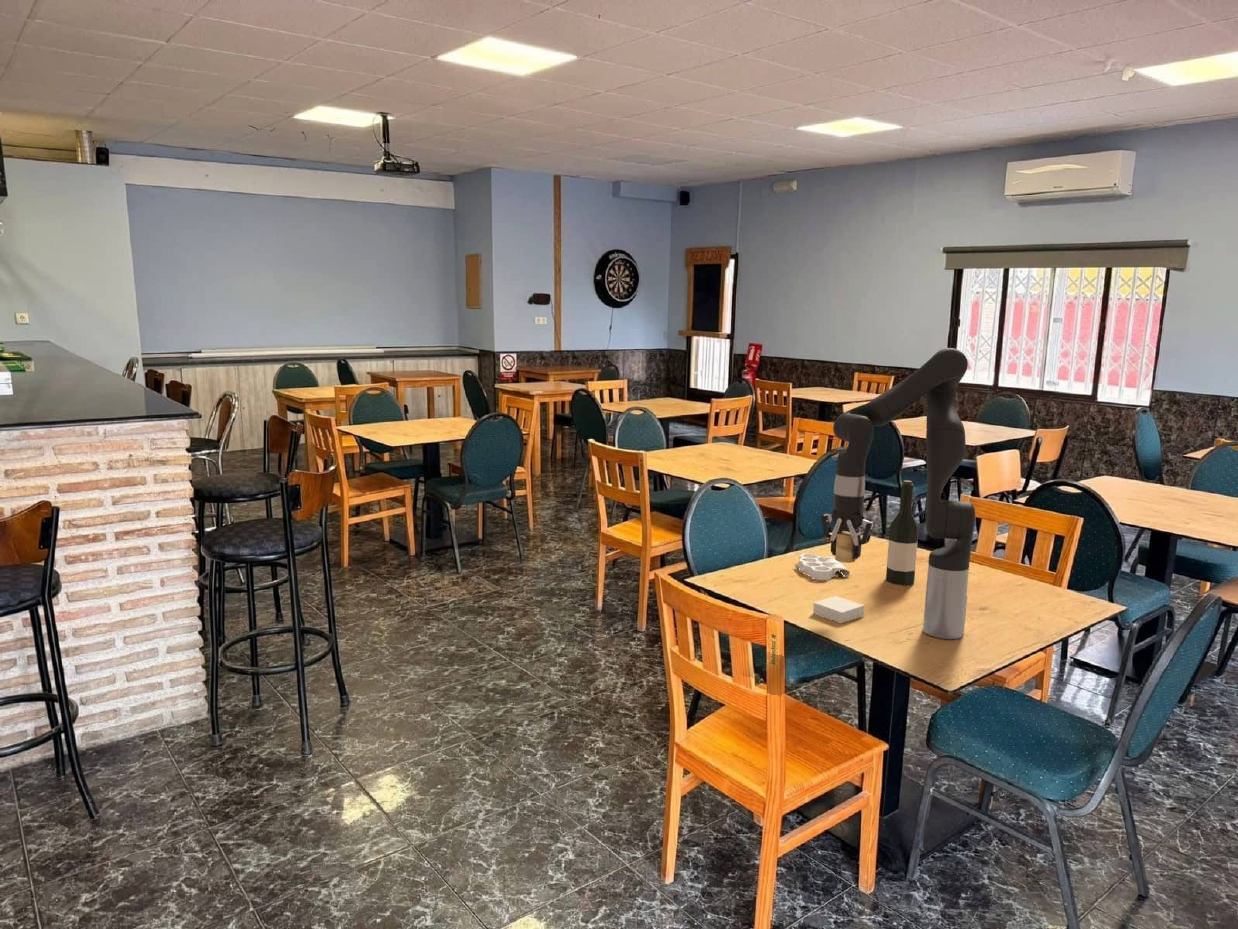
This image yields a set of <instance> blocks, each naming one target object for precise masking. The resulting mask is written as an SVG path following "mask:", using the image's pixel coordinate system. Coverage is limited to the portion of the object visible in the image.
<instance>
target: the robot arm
mask: <svg viewBox="0 0 1238 929" xmlns="http://www.w3.org/2000/svg"><path fill="white" fill-rule="evenodd" d="M968 366H969V364H968V359H967V356H966V355H965V353H964V352H962V351H961V350H959V349H957V348H952V347H946V348H942V349H940V350H938V351H937V352H935V354H933V355H932V356H931V357H930V358H929V360H927V361H926V362H925V363H924V364H923V365H921V366H920V367H919V368H918V369H917V370H915V371H914V372H913V373H911V374H910V375H908V377H905V378H904V379H903V380H901V381H900V382H899V383H897V384H896V385H894V386H892V387H891V388H889V389H888V390H886V391H885V392H883V393H881V394H880V395H878V396H876V397H874V398H873V399H872V400H870V401H869V402H867V403H865V404H862V405H858V406H857V407H854V408H851V409H848V410H847V411H845V412H843V413H841V414H840V415H839V416H838V417H837V418H836V419H835V421H834V423H833V427H832V430H833V433H834V435H835V437H836V438H837V439H839V440H841V441H844V442H848V443H847V447H846V450H844V451H841V452H839V454H837V459H836V470H835V471H836V473H835V475H836V476H835V479H834V486H833V502H832V503H833V504H832V505H833V506H832V509H833V510H832V513H831V514H830V513H824V514H823V515H820V518H821V519H820V520H821V525H822V531H823V536H824V538H827V539H829V540H830V552H831V555H832V556H834V557H835V554H836V538H837V533H839V532H842V531H847V532H850V534H851V537H852V538H853V542H854V545H853V559H855V561H857V560H858V559H859V558H860V557H861V555H862V545H865V544H868V543H870V540H871V537H872V534H873V531H874V527H875V526H876V524H875V521H873V520H872V521H869V520H867V519H866V518H865V517H864V507H865V493H866V492H865V490H866V479H865V475H866V462H867V461H866V460H867V457H868V454H869V452H870V448H871V445H872V442H873V439H874V432H875V431H874V427H882V426H885V425H887V424H888V423H891V421H893V420H895V419H896V418H898V417H899V416H900V415H902V414H904V413H905V412H906V411H907V410H909V409H910V408H911V407H912V406H913V405H914V404H916V403H917V402H918V401H919V400H920V399H921V398H922V397H923V396H925V401H926V420H925V421H926V432H925V434H926V435H925V443H926V444H925V446H926V447H925V449H926V470H927V471H926V472H927V475H926V476H927V477H926V478H927V483H926V502H925V503H926V504H925V530H926V532H927V535H928V536H929V537H931V538H935V539H936V538H937V539H946V540H947V539H949V540H955V541H954V542H952V543H951V544H948V545H947V546H946V545H945V546H944V547H940V548H936V549H934V550H931V551H930V553H929V555H928V561H927V562H928V565H927V578H926V588H925V599H924V601H925V602H924V611H923V613H924V614H923V622H922V631H923V633H924V634H926V635H929V636H931V637H933V638H936V639H943V640H957V639H960V638H962V637H963V636H964V633H965V624H966V614H967V613H966V612H967V605H968V596H967V593H968V584H969V573H970V572H969V570H970V563H971V552H972V543H973V536H974V531H975V524H976V508H975V506H974V504H973V503H972V502H970V501H967V500H964V501H963V500H952V499H951V500H950V499H949V500H948V499H947V500H945V499H942V496H941V495H942V492H943V489H944V487H945V486H946V484H947V483H948V481H949V479H950V478H951V477H952V475H953V474H954V473H955V472H956V471H957V469H958V468H959V467H960V465H961V464H962V462H963V460H964V459H965V456H966V453H967V452H966V450H967V448H966V431H965V427H964V424H963V421H962V420H961V418H960V416H959V414H958V412H957V406H956V399H957V398H956V397H957V389H958V387H959V386H958V385H959V384H960V382H961V381H962V379H963V378H964V376H965V374H966V372H967V370H968ZM832 520H833V523H834V524H835V525H834V528H832V523H831V522H832ZM862 525H863V526H862ZM861 526H862V527H863V529H864V531H863V532H862V531H861V529H860V527H861ZM861 532H862V533H863V534H862V533H861ZM861 534H862V535H861Z"/></svg>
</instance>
